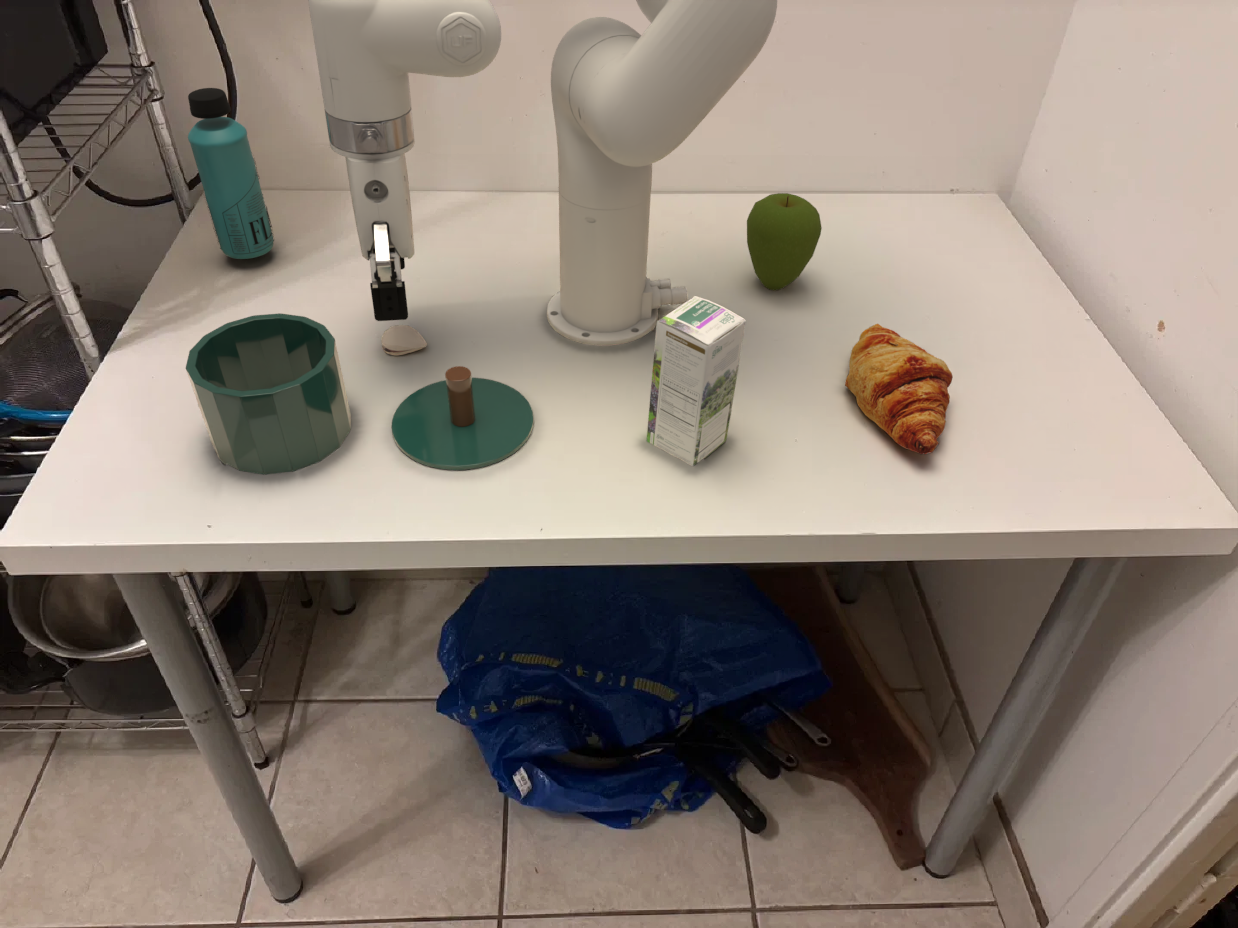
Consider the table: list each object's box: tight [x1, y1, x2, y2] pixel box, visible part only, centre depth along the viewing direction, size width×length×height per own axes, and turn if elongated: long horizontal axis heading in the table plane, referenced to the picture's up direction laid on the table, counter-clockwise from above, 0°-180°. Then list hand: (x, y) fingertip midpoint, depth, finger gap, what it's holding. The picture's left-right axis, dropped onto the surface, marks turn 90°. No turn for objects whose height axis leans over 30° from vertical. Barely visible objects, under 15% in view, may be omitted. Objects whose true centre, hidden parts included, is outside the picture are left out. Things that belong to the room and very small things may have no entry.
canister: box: [185, 312, 352, 476], centre depth 86 cm, size 13×13×10 cm
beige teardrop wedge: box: [380, 324, 428, 356], centre depth 99 cm, size 4×5×2 cm
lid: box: [391, 365, 535, 471], centre depth 88 cm, size 14×14×7 cm
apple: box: [746, 192, 823, 291], centre depth 109 cm, size 9×8×12 cm
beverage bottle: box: [187, 87, 276, 260], centre depth 107 cm, size 6×7×20 cm
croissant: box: [844, 323, 953, 455], centre depth 94 cm, size 21×10×8 cm, turn 3°
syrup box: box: [645, 295, 747, 467], centre depth 85 cm, size 6×6×14 cm
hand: (390, 292), depth 95 cm, fingers open, 9 cm apart
